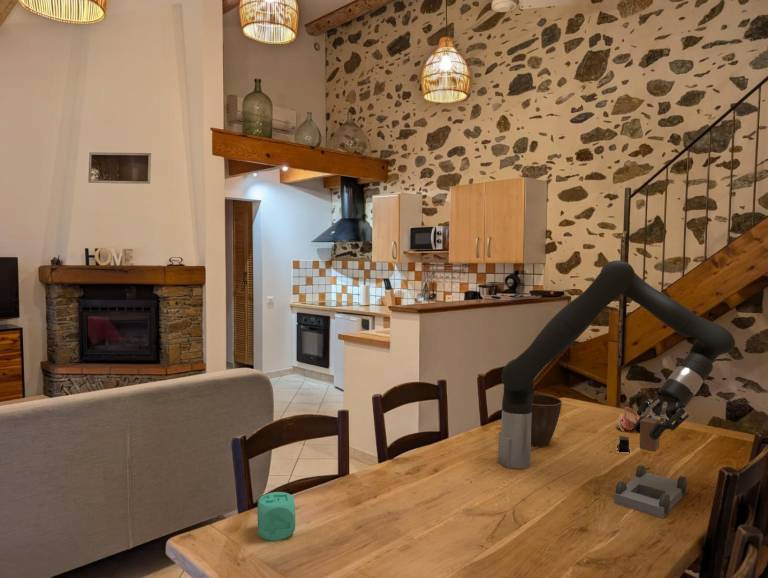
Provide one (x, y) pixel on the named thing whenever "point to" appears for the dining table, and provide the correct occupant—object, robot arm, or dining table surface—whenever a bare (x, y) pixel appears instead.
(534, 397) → the plant pot
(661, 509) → the chassis
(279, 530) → the decorative dice
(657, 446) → the wooden block
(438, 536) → the dining table surface
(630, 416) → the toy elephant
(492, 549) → the dining table surface
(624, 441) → the black block
